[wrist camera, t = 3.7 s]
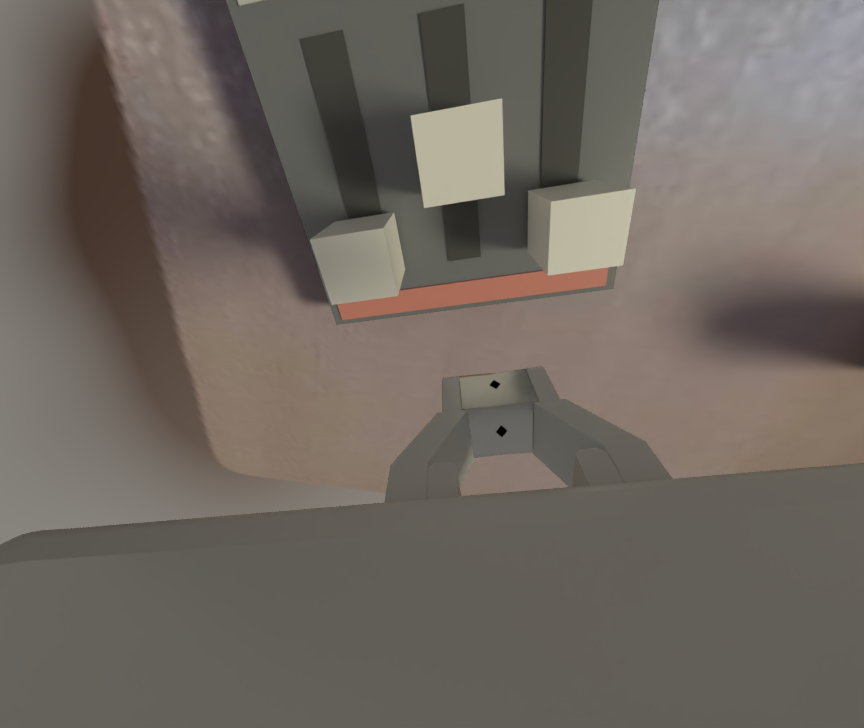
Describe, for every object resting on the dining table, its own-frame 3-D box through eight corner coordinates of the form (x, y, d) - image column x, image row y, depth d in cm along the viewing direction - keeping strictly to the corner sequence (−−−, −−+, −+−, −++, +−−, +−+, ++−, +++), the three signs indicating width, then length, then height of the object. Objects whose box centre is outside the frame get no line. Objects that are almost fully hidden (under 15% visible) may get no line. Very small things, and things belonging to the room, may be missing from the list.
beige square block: (416, 122, 15) (410, 115, 12) (487, 109, 15) (502, 98, 11) (427, 195, 17) (424, 208, 13) (491, 185, 16) (504, 195, 13)
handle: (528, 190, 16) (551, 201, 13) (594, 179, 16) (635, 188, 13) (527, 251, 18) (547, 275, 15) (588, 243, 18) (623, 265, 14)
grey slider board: (245, -21, 15) (205, -57, 12) (640, -116, 13) (689, -180, 11) (347, 305, 24) (336, 325, 21) (593, 272, 22) (614, 289, 19)
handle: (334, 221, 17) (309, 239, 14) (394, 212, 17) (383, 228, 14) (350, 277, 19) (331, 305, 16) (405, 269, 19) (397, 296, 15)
